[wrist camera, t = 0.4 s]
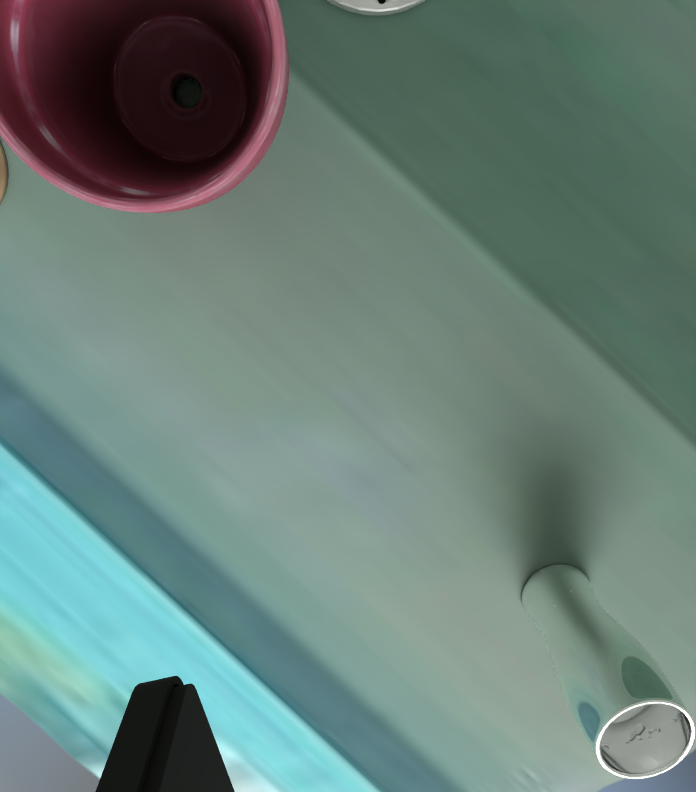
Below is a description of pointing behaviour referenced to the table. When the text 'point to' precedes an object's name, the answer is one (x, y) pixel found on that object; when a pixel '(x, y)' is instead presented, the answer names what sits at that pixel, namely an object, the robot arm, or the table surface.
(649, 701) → the beer glass
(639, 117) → the table surface
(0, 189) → the coaster
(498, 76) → the table surface
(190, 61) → the plant pot
